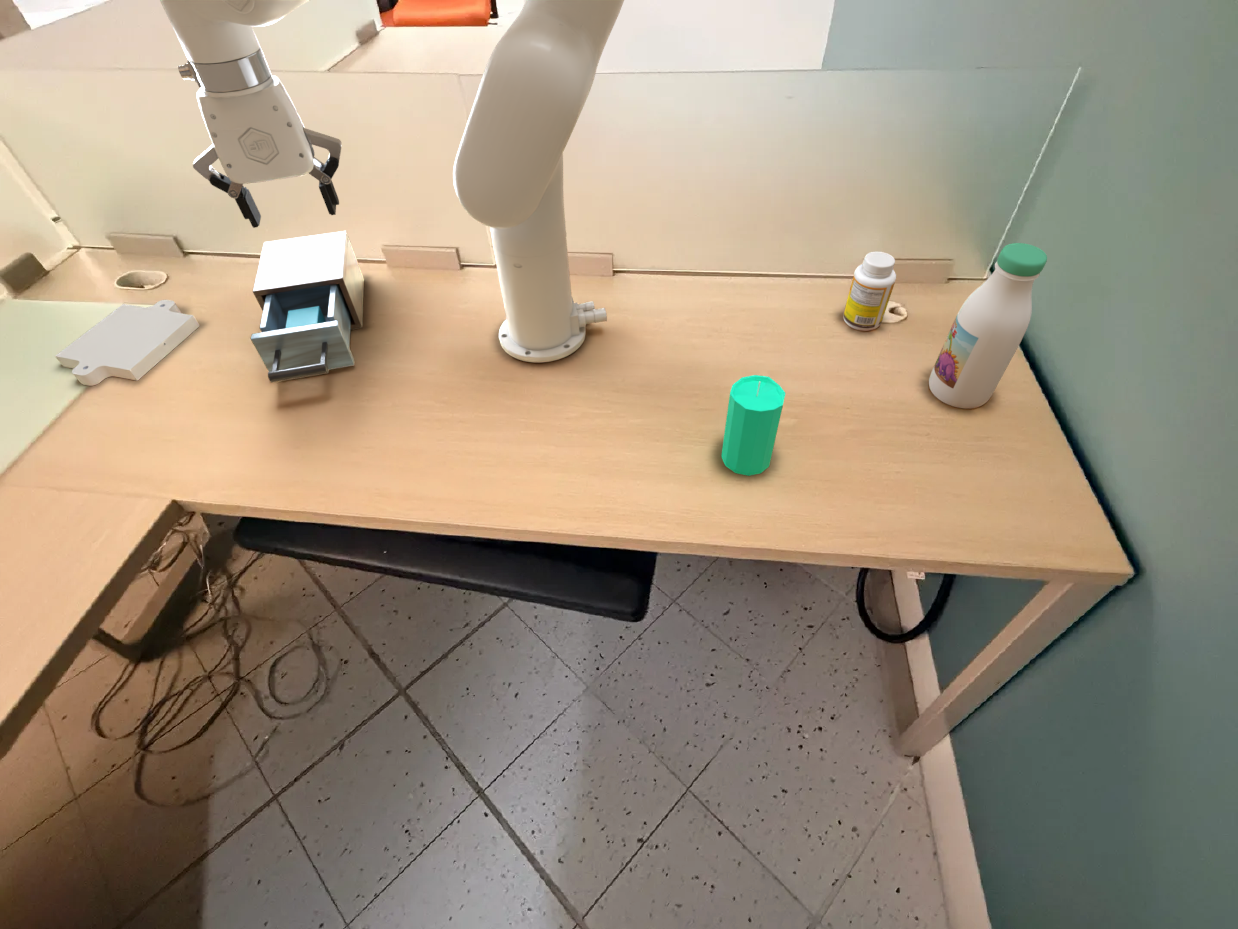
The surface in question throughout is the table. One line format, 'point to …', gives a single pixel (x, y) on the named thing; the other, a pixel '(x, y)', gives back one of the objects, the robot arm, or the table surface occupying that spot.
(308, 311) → the teal wooden cube
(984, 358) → the milk bottle
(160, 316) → the mounting plate
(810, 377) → the table surface
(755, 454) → the candle
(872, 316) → the supplement bottle
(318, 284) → the cabinet
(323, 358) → the drawer
